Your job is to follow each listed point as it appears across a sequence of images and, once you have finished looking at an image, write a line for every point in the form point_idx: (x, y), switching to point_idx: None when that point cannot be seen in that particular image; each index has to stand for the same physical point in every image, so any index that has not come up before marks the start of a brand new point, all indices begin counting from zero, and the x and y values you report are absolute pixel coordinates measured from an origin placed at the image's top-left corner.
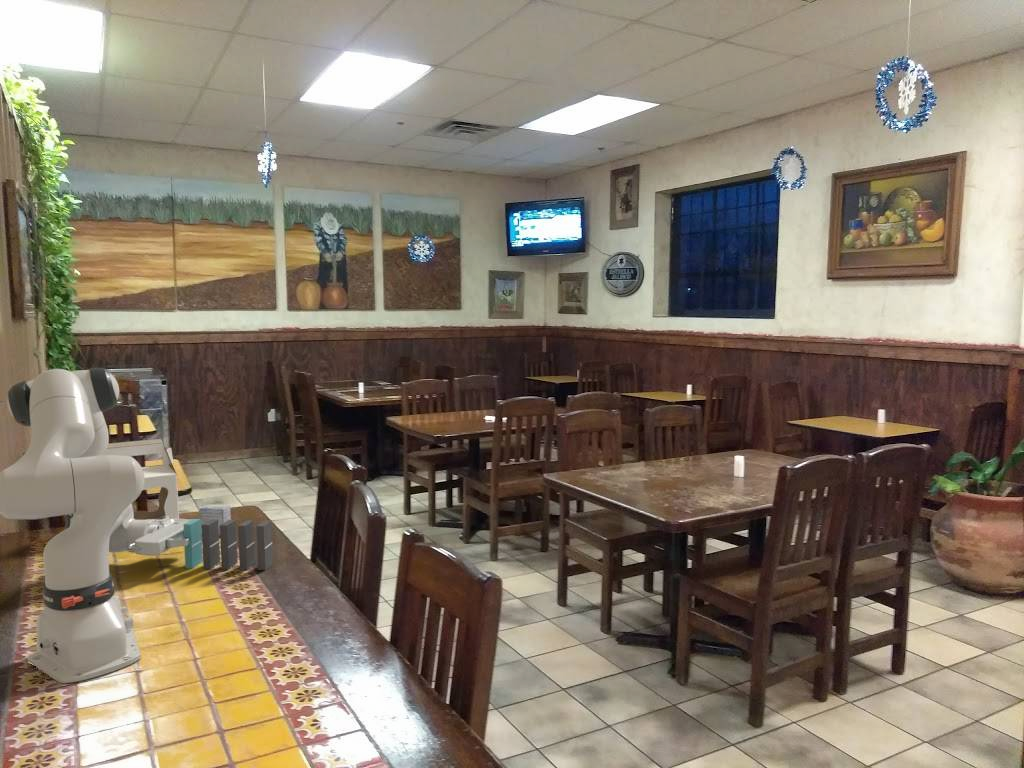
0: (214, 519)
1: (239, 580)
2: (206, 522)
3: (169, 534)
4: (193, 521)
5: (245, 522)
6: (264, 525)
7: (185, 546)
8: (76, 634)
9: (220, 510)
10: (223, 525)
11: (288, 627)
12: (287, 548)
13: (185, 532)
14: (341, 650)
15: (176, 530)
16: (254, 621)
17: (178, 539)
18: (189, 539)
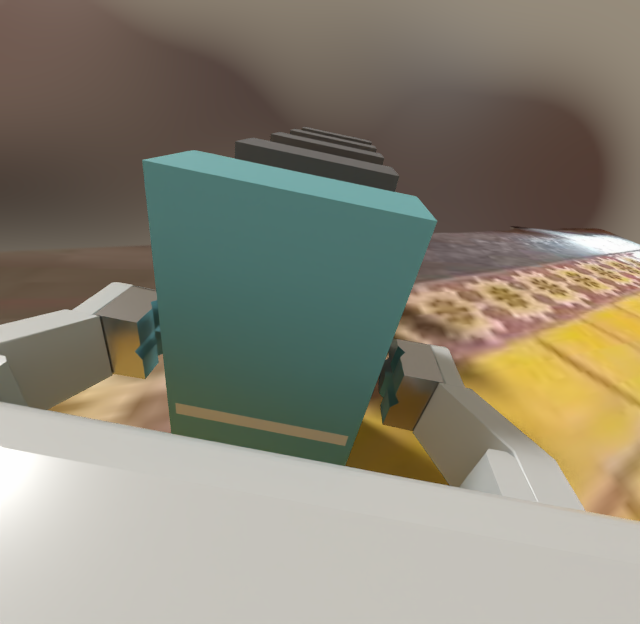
0: (248, 139)
1: (415, 316)
2: (331, 160)
3: (496, 532)
4: (294, 176)
5: (326, 137)
6: (361, 139)
7: (352, 434)
8: None
9: None
10: (382, 156)
11: (552, 267)
12: (145, 248)
13: (393, 316)
14: (557, 246)
15: (207, 483)
16: (571, 291)
17: (475, 401)
18: (392, 342)
